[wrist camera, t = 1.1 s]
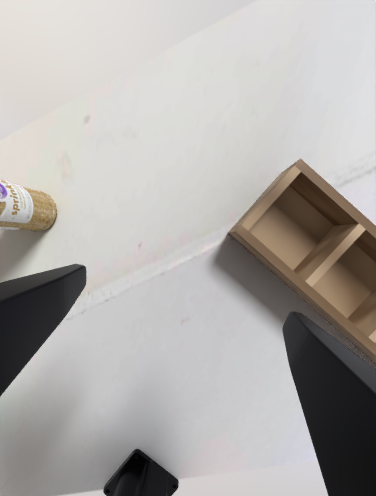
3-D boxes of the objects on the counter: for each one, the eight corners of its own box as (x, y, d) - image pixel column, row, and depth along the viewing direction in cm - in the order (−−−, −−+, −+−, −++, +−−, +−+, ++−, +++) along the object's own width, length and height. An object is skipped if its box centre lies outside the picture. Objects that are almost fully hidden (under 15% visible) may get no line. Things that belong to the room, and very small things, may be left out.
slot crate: (389, 375, 23) (430, 404, 19) (228, 232, 23) (235, 231, 19) (445, 319, 22) (499, 337, 18) (281, 173, 22) (300, 158, 18)
